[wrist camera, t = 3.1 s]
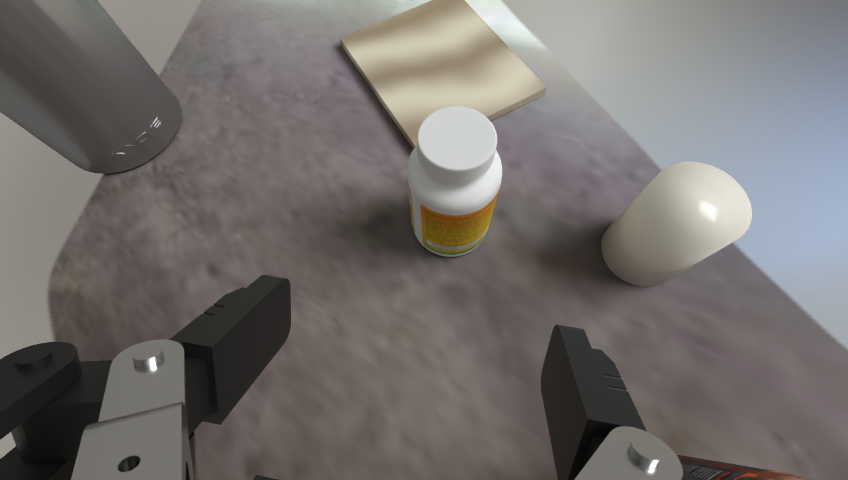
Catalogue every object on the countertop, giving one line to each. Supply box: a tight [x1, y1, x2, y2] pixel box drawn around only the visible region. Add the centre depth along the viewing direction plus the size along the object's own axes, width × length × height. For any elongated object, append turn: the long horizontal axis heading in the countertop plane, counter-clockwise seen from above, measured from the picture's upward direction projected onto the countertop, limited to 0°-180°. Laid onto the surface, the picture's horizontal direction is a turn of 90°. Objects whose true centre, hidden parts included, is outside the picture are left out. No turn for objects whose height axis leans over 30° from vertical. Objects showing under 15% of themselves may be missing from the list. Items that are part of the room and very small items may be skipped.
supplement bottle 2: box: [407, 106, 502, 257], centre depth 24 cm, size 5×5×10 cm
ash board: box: [340, 0, 547, 149], centre depth 34 cm, size 14×12×1 cm
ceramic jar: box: [601, 162, 752, 287], centre depth 24 cm, size 5×5×7 cm
